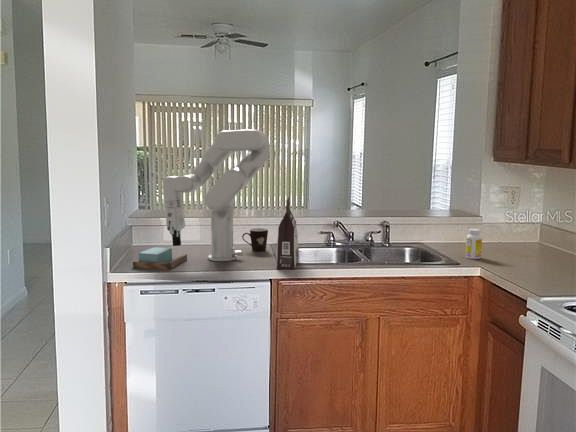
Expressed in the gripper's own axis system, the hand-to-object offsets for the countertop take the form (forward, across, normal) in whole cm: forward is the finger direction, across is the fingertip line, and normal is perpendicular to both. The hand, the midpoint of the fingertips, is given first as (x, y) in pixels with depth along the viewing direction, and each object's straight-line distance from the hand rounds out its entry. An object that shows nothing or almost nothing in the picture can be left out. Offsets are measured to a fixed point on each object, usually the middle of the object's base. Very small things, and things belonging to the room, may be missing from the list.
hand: (177, 245), depth 232 cm
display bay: (+5, -13, +2) cm, 14 cm away
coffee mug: (+7, +21, -30) cm, 38 cm away
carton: (+5, -15, +4) cm, 16 cm away
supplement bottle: (+14, +27, -129) cm, 132 cm away
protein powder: (+9, -4, -50) cm, 51 cm away
